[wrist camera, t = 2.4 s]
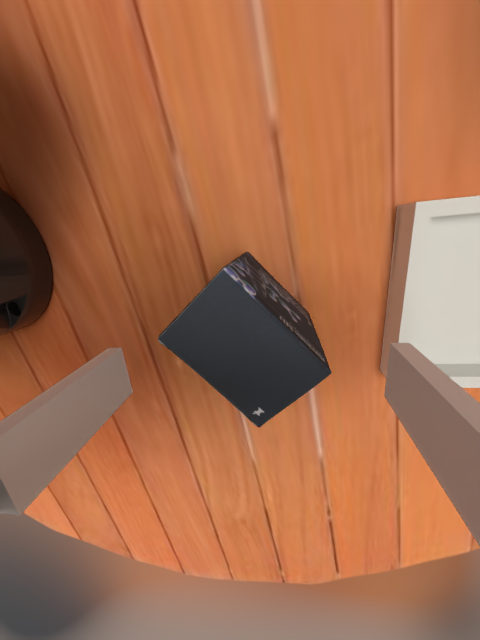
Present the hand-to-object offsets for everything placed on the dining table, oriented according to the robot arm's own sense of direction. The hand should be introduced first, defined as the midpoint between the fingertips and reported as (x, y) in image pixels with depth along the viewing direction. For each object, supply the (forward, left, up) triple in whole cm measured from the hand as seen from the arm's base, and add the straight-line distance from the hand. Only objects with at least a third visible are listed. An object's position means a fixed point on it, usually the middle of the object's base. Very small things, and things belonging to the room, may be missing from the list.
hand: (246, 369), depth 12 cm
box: (0, 0, -12) cm, 12 cm away
